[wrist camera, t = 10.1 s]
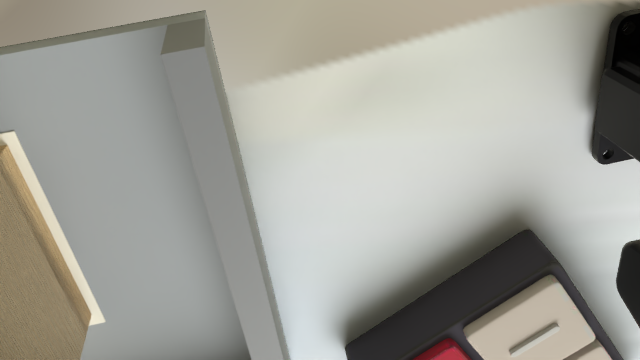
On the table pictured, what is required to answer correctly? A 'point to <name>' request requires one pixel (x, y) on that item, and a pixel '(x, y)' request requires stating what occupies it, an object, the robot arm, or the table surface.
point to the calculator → (494, 314)
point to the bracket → (34, 280)
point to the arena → (144, 189)
